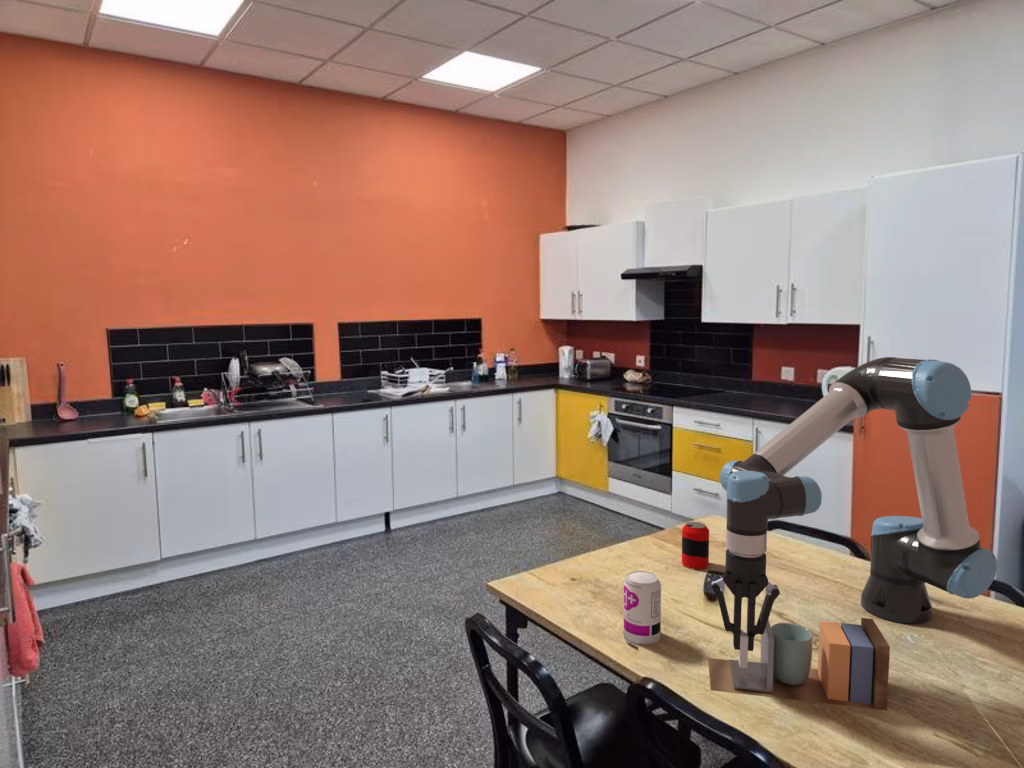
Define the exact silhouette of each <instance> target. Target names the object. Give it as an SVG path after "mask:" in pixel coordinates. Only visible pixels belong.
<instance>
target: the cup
mask: <svg viewBox="0 0 1024 768" xmlns="http://www.w3.org/2000/svg"><path fill="white" fill-rule="evenodd" d="M771 630H772V633H773V636H774V661H773V675H774V677H775V678H776V679H777V680H779V681H780V682H782V683H785V684H788V685H793V686H796V685H800V684H803V683H804V682H805V681H806V680H807V678H808V676H809V673H810V669H812V662H813V644H814V643H813V642H814V641H813V640H814V639H813V638H814V636H813V633H812V631H811V630H810V629H808V628H806V627H805V626H803V625H799V624H795V623H791V622H778V623H774V624H773V625H771Z"/></svg>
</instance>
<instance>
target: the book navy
mask: <svg viewBox="0 0 1024 768" xmlns="http://www.w3.org/2000/svg"><path fill="white" fill-rule="evenodd" d="M840 626H841V628H842V630H843V632H844V634H845V636H846V638H847V640H848V642H849V644H850V666H849V689H848V697H849V700H850V701H851V702H860V703H869V704H871V691H872V670H873V649H874V648H873V646H872V644H871V642H870V641H869V639H868V637H867V636H866V634H865V632H864V630H863V629H862V627H861V624H857V623H856V624H855V623H844V622H840Z"/></svg>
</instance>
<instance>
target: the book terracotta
mask: <svg viewBox="0 0 1024 768" xmlns="http://www.w3.org/2000/svg"><path fill="white" fill-rule="evenodd" d="M818 629H819V631H818V655H817V657H818V658H817V669H818V675H819V678H820V680H821V683H822V685H823V688H824V691H825V693H826V696H827V698H828V699H834V700H842V701H848V689H849V666H850V644H849V642H848V640H847V638H846V636H845V634H844V632H843V630H842V628H841V623H839V622H831V621H821V620H820V621H819V628H818Z"/></svg>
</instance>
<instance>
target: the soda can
mask: <svg viewBox="0 0 1024 768" xmlns="http://www.w3.org/2000/svg"><path fill="white" fill-rule="evenodd" d="M709 553H710V529H709V528H708V526H707V524H705V523H704V522H699V521H688V522H686V523H685V524H684V525H683V526H682V529H681V564H682V566H684V567H685V566H686V568H687V567H689V568H688V569H691V568H693V569H692V570H703V568H704V569H706V568H708V567H709V564H710V563H709V561H710V559H709V558H710V556H709V555H710V554H709Z"/></svg>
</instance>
